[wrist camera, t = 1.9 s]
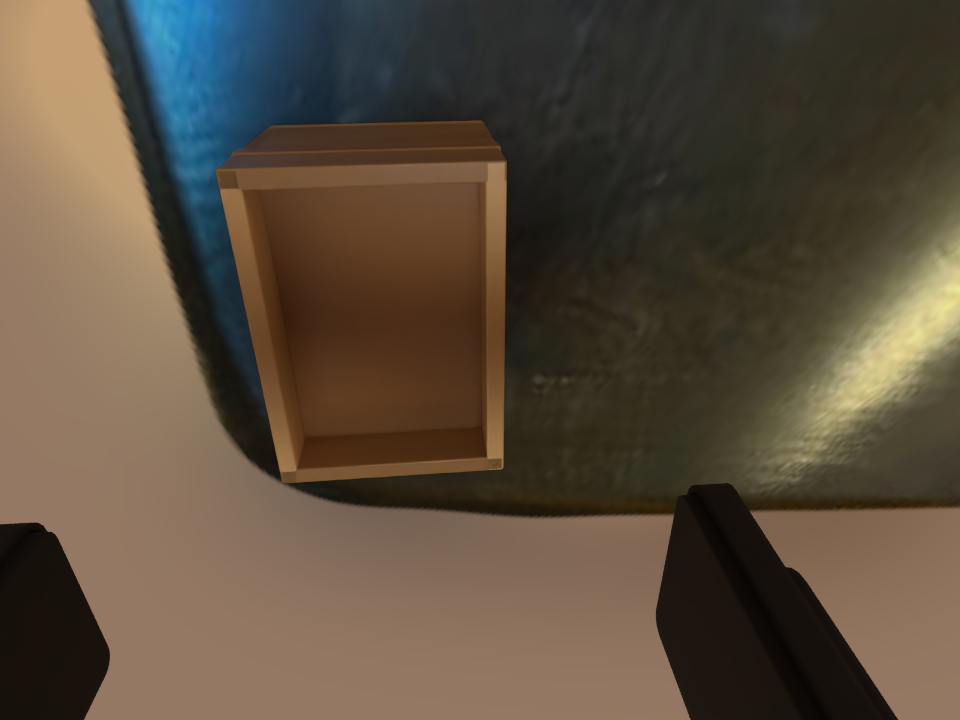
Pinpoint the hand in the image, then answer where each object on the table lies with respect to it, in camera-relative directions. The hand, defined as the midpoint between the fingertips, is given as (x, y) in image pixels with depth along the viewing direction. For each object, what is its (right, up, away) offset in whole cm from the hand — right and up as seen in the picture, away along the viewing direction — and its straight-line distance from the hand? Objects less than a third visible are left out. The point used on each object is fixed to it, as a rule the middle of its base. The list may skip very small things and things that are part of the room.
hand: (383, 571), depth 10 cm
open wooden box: (-2, +7, +12) cm, 14 cm away
